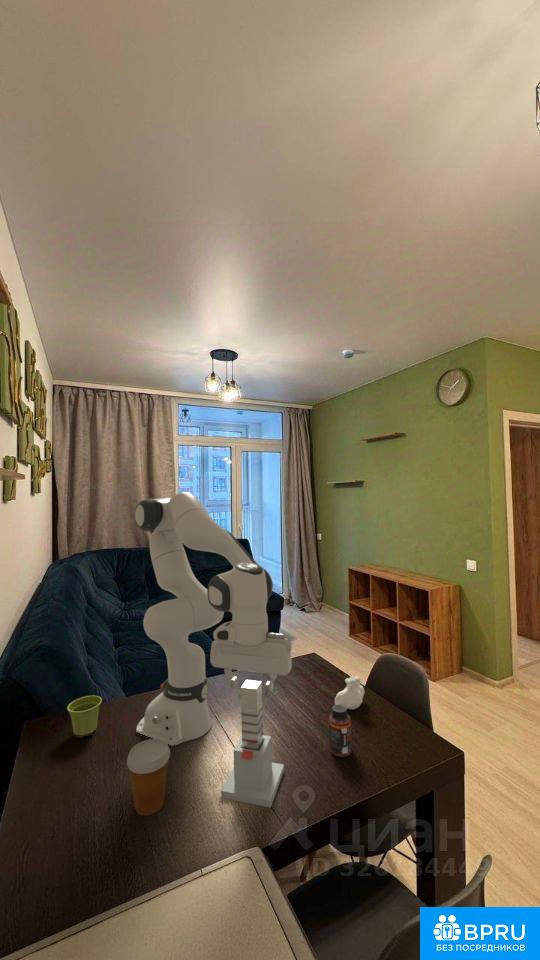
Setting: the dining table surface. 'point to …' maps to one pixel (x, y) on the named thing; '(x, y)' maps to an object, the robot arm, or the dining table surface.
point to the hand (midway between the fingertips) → (251, 687)
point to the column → (252, 715)
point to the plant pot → (84, 714)
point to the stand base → (253, 775)
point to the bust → (351, 693)
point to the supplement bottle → (340, 731)
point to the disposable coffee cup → (148, 774)
